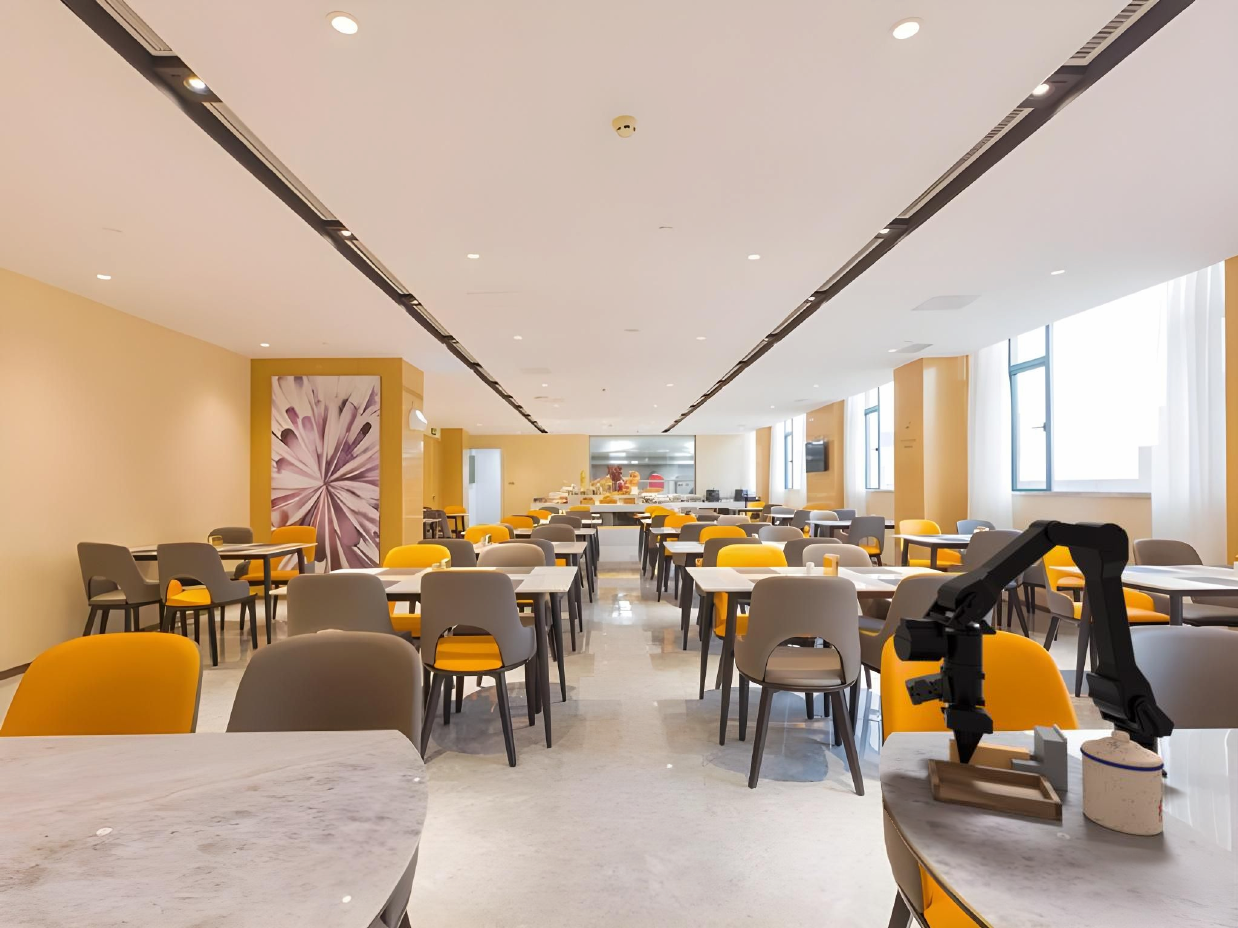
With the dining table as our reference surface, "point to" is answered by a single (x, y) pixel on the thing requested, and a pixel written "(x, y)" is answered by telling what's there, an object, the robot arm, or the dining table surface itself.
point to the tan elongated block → (990, 755)
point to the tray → (994, 789)
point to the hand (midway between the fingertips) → (963, 760)
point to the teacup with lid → (1122, 785)
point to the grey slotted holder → (1047, 757)
